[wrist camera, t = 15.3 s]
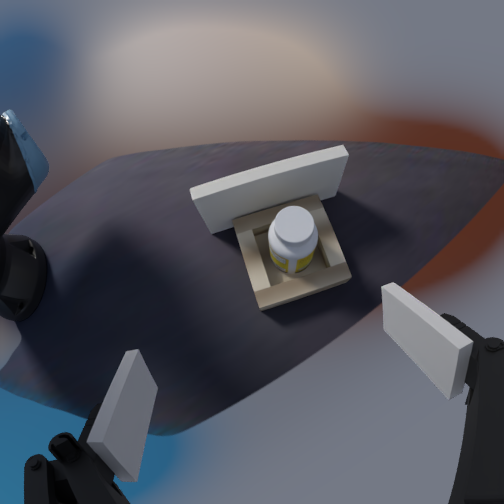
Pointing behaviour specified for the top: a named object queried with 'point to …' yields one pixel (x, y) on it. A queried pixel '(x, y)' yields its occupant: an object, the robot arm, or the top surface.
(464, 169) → the top surface
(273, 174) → the white backstop wall
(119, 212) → the top surface
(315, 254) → the birch socket block
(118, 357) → the top surface
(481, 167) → the top surface
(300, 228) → the supplement bottle
